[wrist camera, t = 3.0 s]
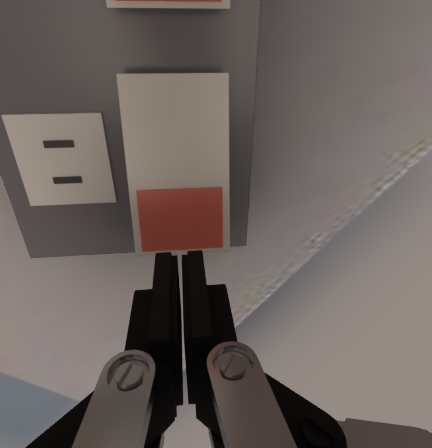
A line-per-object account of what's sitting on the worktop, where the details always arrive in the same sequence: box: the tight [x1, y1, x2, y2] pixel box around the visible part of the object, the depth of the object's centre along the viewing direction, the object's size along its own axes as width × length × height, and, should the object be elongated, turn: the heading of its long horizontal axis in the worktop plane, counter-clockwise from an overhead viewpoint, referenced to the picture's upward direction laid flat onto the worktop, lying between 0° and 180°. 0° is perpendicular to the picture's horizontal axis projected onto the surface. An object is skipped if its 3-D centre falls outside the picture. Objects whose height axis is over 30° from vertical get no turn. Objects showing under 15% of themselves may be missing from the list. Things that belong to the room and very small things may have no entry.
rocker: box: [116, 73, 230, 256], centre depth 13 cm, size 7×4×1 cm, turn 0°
